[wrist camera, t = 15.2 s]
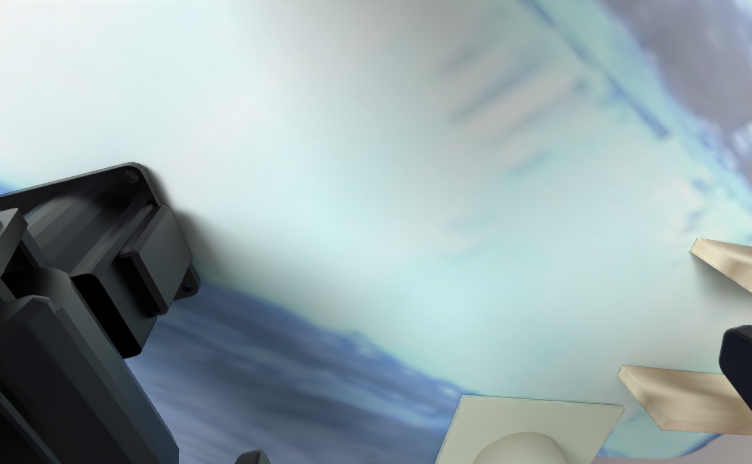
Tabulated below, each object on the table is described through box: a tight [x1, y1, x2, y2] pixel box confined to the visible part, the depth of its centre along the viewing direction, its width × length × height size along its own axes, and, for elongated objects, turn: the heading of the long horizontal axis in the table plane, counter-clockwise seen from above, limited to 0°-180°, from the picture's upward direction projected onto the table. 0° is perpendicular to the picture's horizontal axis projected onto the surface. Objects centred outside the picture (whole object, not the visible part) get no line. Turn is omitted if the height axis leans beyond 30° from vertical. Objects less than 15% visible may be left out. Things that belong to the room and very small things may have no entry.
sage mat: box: [434, 394, 625, 464], centre depth 30 cm, size 11×11×1 cm
